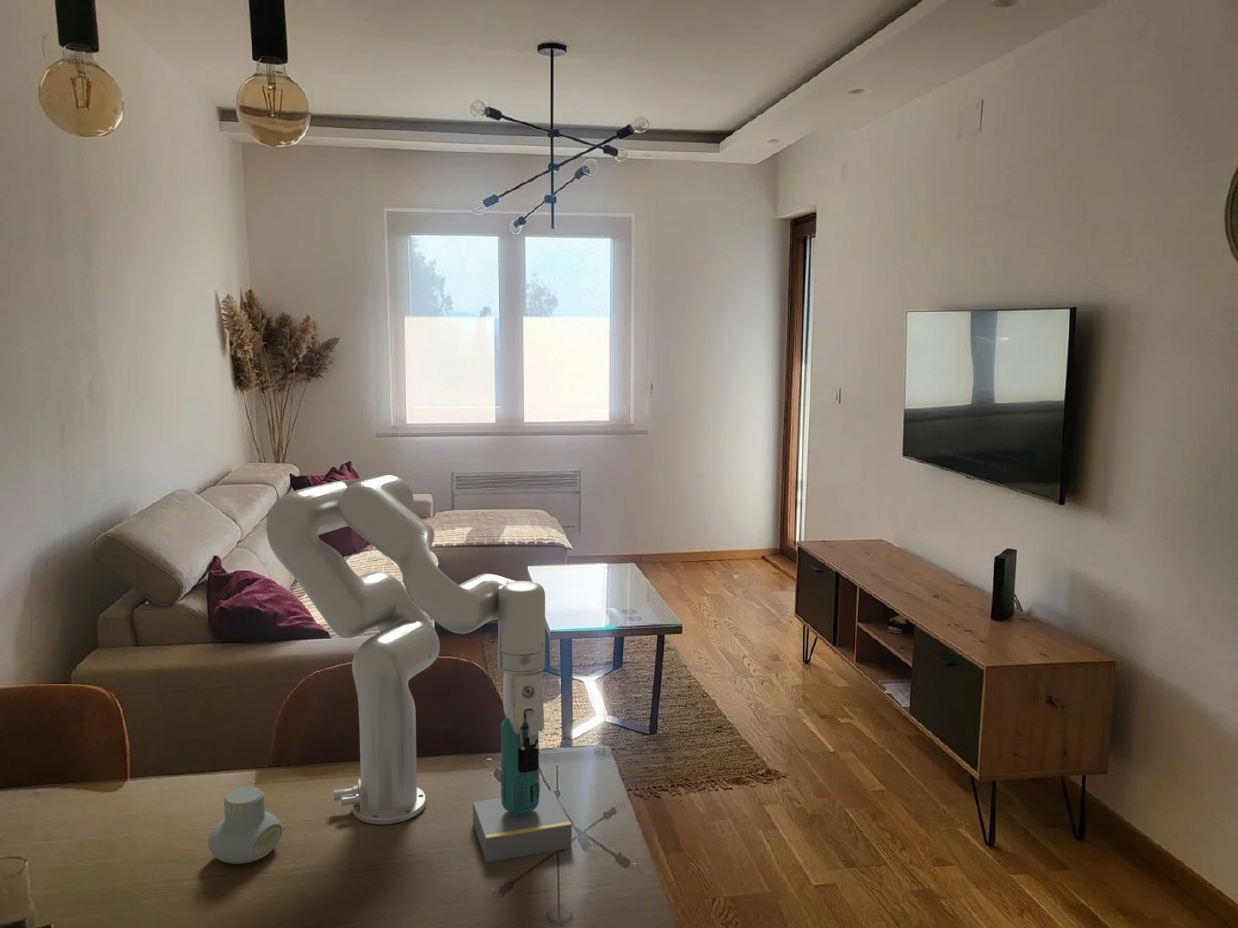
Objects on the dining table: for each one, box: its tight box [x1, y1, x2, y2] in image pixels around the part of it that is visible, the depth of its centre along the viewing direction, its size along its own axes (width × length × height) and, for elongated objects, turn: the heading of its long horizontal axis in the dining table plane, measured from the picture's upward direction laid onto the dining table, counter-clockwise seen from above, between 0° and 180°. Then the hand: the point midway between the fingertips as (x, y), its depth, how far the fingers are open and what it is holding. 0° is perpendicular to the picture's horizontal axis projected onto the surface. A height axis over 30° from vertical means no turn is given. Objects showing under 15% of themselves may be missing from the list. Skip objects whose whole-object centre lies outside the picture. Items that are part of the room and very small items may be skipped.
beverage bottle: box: [499, 718, 541, 813], centre depth 151 cm, size 6×7×20 cm
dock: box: [472, 789, 573, 863], centre depth 153 cm, size 14×12×4 cm
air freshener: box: [207, 786, 283, 865], centre depth 146 cm, size 11×8×10 cm
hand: (521, 757), depth 151 cm, fingers open, 9 cm apart
